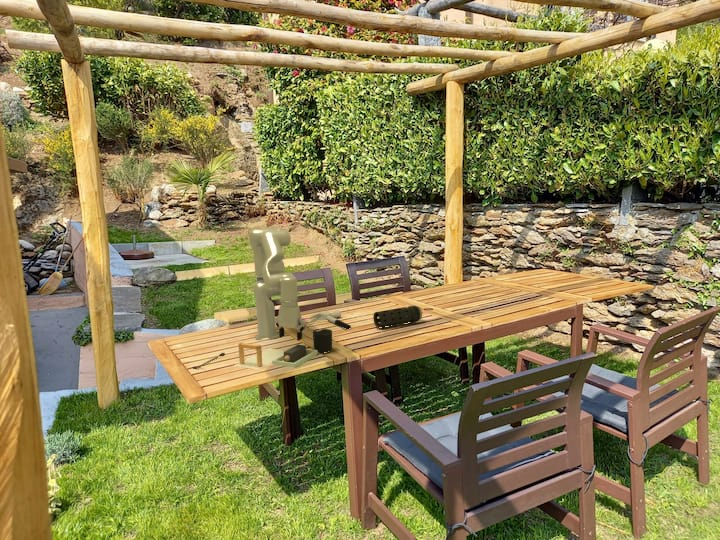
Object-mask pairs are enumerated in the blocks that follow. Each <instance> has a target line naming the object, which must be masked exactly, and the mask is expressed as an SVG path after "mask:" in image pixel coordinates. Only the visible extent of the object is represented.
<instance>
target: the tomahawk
mask: <svg viewBox="0 0 720 540" xmlns="http://www.w3.org/2000/svg"><path fill="white" fill-rule="evenodd" d="M225 354H226V353H225V352H221V353H220V354H219V355H218V356H222V357H223V356H224V355H225ZM218 356H215V357H213V358H212V359H210V360H207V361H206V362H203V363H202V364H200V365H198V366H192V369H193V370H199V369H201V368H202V367H204V366H206V365H207V364H209V363H211V361H212V362H213V360H214V361H216V360H217V358H218ZM215 359H216V360H215ZM218 359H219V358H218ZM201 366H202V367H201Z"/></svg>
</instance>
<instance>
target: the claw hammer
mask: <svg viewBox="0 0 720 540" xmlns="http://www.w3.org/2000/svg"><path fill="white" fill-rule="evenodd" d="M337 317H340V318H341V317H342V312H341V311H340V310H336V311H334V312H331V311H329V310H326V311H320V312H316V313H314V314H312V315H310V316H309V318H308V320H310V321H309V323H312V322H314V321H317V320H329V321H328V322H331V323H333V324H335V325H336V324H337V325H336V326H338V325H339V327H340V326H341V327H340V328H342V327H344V328H346V329H349V328H351V329H352V325H350V324H348V323H346V322H343V321H342V320H340V319H338V318H337ZM314 323H315V322H314ZM312 324H313V323H312ZM344 328H343V329H344ZM346 329H345V330H346Z"/></svg>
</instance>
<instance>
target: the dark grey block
mask: <svg viewBox="0 0 720 540" xmlns="http://www.w3.org/2000/svg"><path fill="white" fill-rule="evenodd" d="M306 349H307V345H306V344H296V345H294V346H292V347H290V348H289V349H286V350H284V351H285V352H284V359H283V361H284V362H291V363H295V362H296V361H298V360H300V359H301V358H303V357H305V356H307V353H306Z"/></svg>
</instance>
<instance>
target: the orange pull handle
mask: <svg viewBox="0 0 720 540" xmlns="http://www.w3.org/2000/svg"><path fill="white" fill-rule="evenodd" d="M237 346H238V358H239V360H238V361H239V363H240V364H242V363H244V362H245V360H246V359H245V349H250V350H255V351H256V354H257V366H259V367H260V366H262V351H263V350H262V345H261V344H253V343H245V342H240V343H238V345H237Z"/></svg>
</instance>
